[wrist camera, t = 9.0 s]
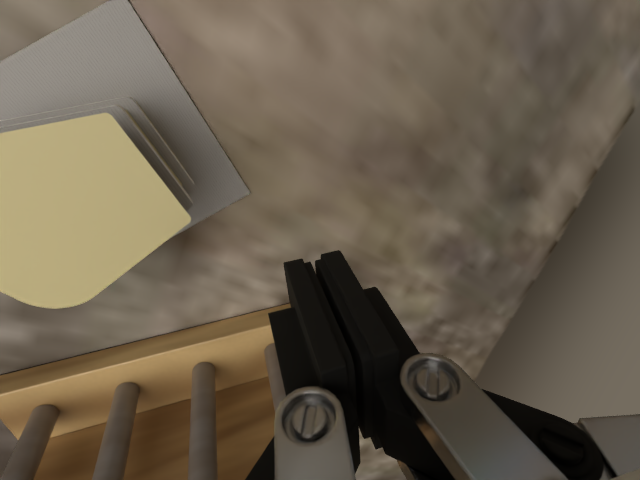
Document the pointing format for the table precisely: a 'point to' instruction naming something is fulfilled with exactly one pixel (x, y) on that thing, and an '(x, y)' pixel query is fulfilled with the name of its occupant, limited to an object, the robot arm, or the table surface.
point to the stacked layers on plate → (98, 159)
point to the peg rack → (149, 407)
